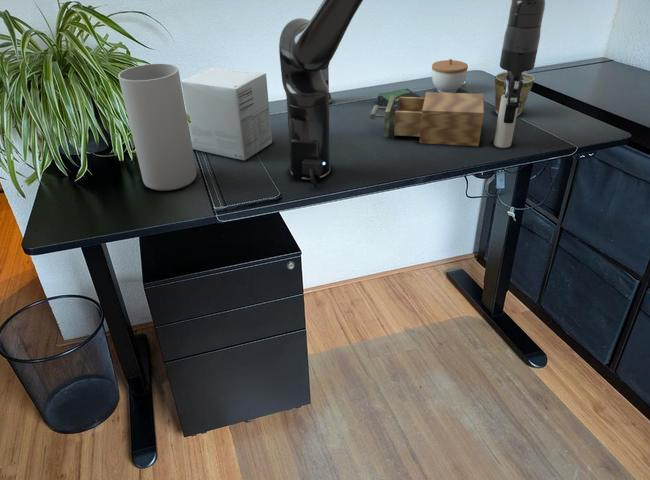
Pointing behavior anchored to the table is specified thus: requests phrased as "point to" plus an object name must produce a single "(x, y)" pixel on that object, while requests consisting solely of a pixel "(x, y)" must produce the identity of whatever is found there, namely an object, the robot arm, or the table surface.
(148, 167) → the cylinder vase
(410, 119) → the drawer
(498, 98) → the ceramic cup
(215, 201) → the table surface
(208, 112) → the supplement box
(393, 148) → the table surface
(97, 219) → the table surface
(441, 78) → the trinket box
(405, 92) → the disk drive
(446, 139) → the cabinet
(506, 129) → the lotion bottle
